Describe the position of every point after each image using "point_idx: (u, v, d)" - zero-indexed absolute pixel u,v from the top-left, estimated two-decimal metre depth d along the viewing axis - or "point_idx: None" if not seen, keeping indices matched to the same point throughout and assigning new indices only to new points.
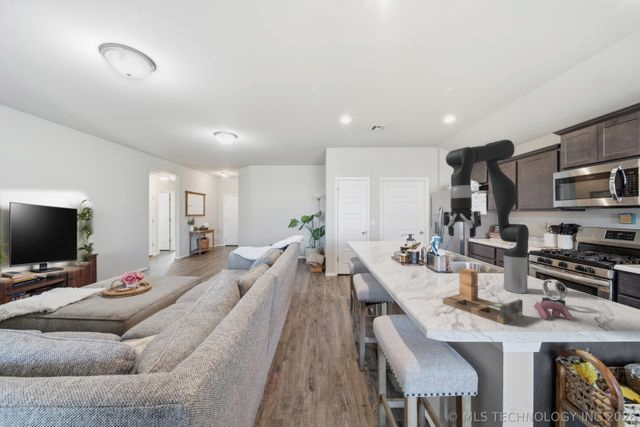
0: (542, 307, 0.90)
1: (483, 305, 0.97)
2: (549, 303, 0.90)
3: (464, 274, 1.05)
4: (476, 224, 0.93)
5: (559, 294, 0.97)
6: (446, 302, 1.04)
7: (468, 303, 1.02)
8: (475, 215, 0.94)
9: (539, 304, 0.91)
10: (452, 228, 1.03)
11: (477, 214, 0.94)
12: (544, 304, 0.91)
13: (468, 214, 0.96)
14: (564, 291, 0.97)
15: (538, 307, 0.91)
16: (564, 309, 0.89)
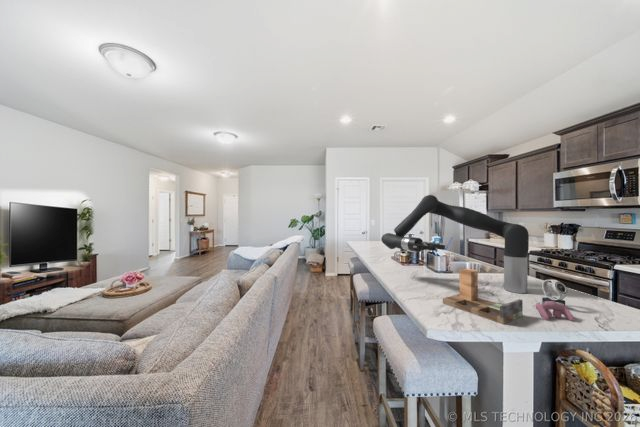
0: (543, 307, 0.90)
1: (483, 305, 0.97)
2: (550, 303, 0.90)
3: (464, 274, 1.05)
4: None
5: (559, 294, 0.97)
6: (446, 302, 1.04)
7: (468, 303, 1.02)
8: (416, 249, 1.22)
9: (540, 304, 0.91)
10: (438, 246, 1.22)
11: (415, 248, 1.22)
12: (545, 304, 0.90)
13: None
14: (564, 291, 0.97)
15: (539, 307, 0.90)
16: (565, 309, 0.89)
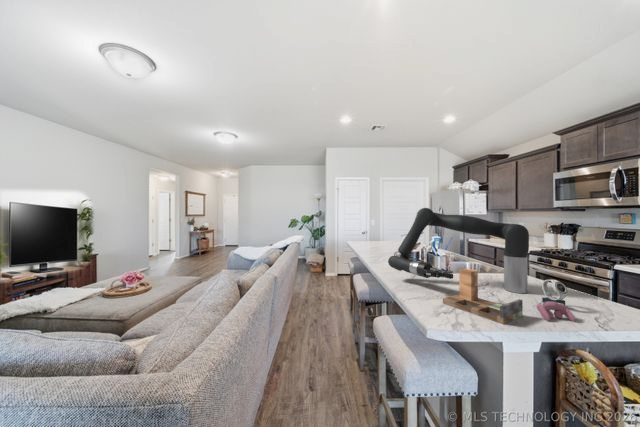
0: (544, 308, 0.89)
1: (483, 305, 0.97)
2: (551, 303, 0.90)
3: (464, 274, 1.05)
4: None
5: (559, 294, 0.97)
6: (446, 302, 1.04)
7: (468, 303, 1.02)
8: None
9: (541, 305, 0.90)
10: None
11: (429, 275, 1.16)
12: (546, 305, 0.90)
13: None
14: (564, 291, 0.97)
15: (540, 308, 0.90)
16: (566, 310, 0.88)
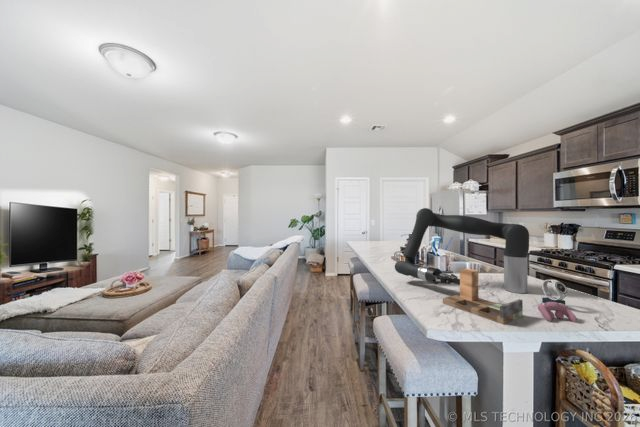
0: (546, 308, 0.89)
1: (483, 305, 0.97)
2: (552, 304, 0.89)
3: (465, 274, 1.04)
4: None
5: (559, 294, 0.97)
6: (446, 302, 1.04)
7: (468, 303, 1.02)
8: None
9: (542, 305, 0.90)
10: None
11: (439, 281, 1.12)
12: (547, 305, 0.89)
13: None
14: (564, 291, 0.97)
15: (541, 308, 0.90)
16: (568, 310, 0.88)
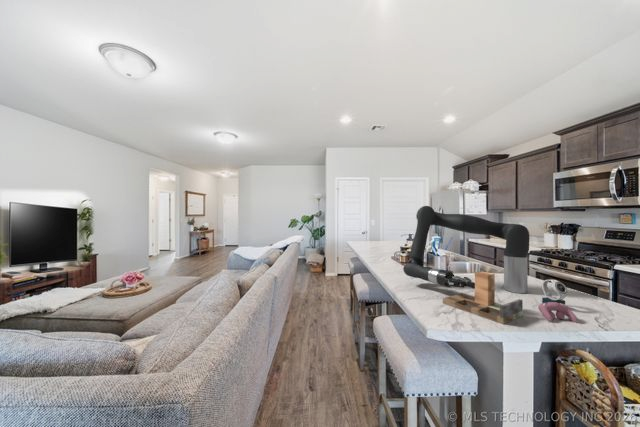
0: (546, 309, 0.88)
1: (483, 305, 0.97)
2: (553, 304, 0.89)
3: (480, 277, 0.99)
4: None
5: (559, 294, 0.97)
6: (446, 302, 1.04)
7: (468, 303, 1.02)
8: None
9: (543, 306, 0.90)
10: None
11: (452, 285, 1.06)
12: (548, 306, 0.89)
13: None
14: (564, 291, 0.97)
15: (542, 309, 0.89)
16: (568, 311, 0.88)
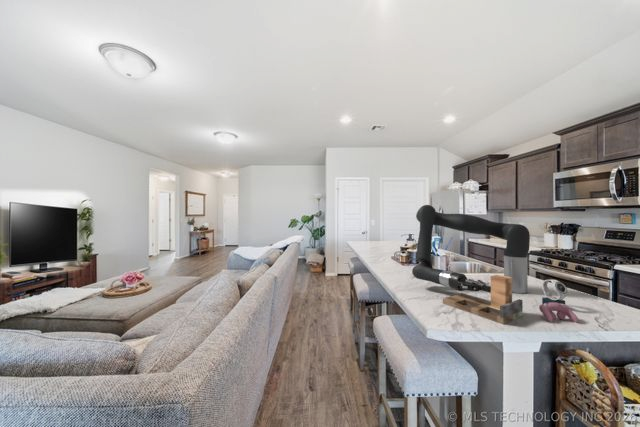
0: (547, 309, 0.88)
1: (483, 305, 0.97)
2: (554, 304, 0.89)
3: (497, 281, 0.94)
4: None
5: (559, 294, 0.97)
6: (446, 302, 1.04)
7: (468, 303, 1.02)
8: None
9: (544, 306, 0.89)
10: None
11: (466, 288, 1.01)
12: (549, 306, 0.89)
13: None
14: (564, 291, 0.97)
15: (543, 309, 0.89)
16: (569, 311, 0.87)
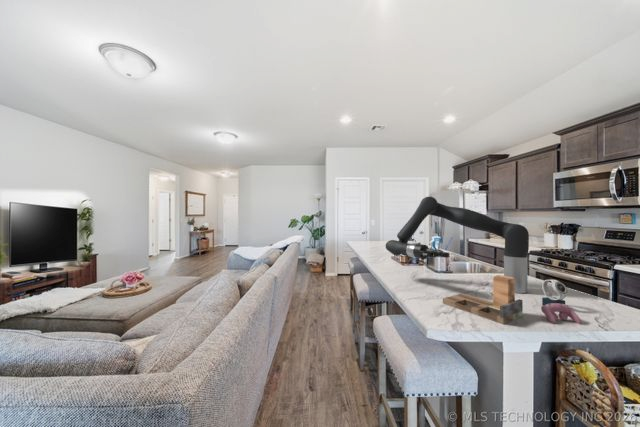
0: (549, 310, 0.87)
1: (483, 305, 0.97)
2: (556, 305, 0.88)
3: (499, 282, 0.93)
4: None
5: (559, 294, 0.97)
6: (446, 302, 1.04)
7: (468, 303, 1.02)
8: (426, 256, 1.19)
9: (546, 307, 0.88)
10: None
11: (425, 255, 1.18)
12: (551, 307, 0.88)
13: None
14: (564, 291, 0.97)
15: (545, 310, 0.88)
16: (571, 312, 0.87)
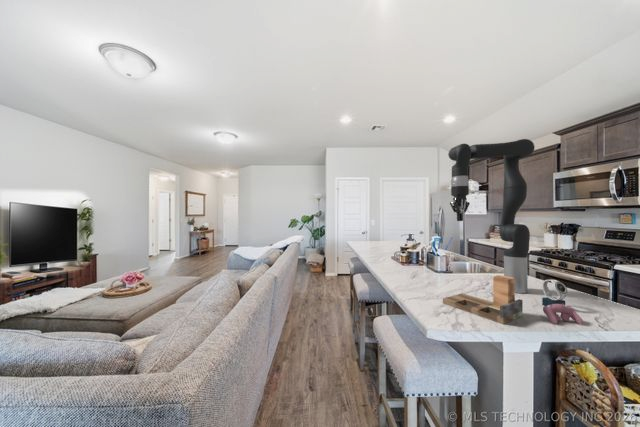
0: (551, 311, 0.87)
1: (483, 305, 0.97)
2: (558, 306, 0.87)
3: (499, 282, 0.93)
4: None
5: (559, 294, 0.97)
6: (446, 302, 1.04)
7: (468, 303, 1.02)
8: None
9: (548, 308, 0.88)
10: None
11: (451, 205, 1.18)
12: (553, 308, 0.87)
13: None
14: (564, 291, 0.97)
15: (547, 311, 0.87)
16: (573, 313, 0.86)
